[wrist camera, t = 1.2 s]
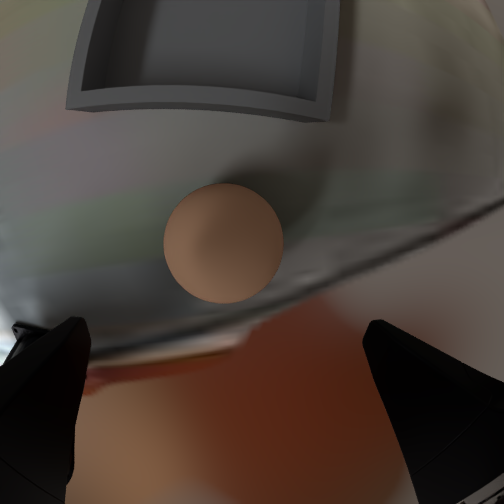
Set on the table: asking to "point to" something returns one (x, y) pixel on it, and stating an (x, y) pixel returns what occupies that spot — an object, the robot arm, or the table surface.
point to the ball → (223, 243)
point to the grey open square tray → (207, 57)
